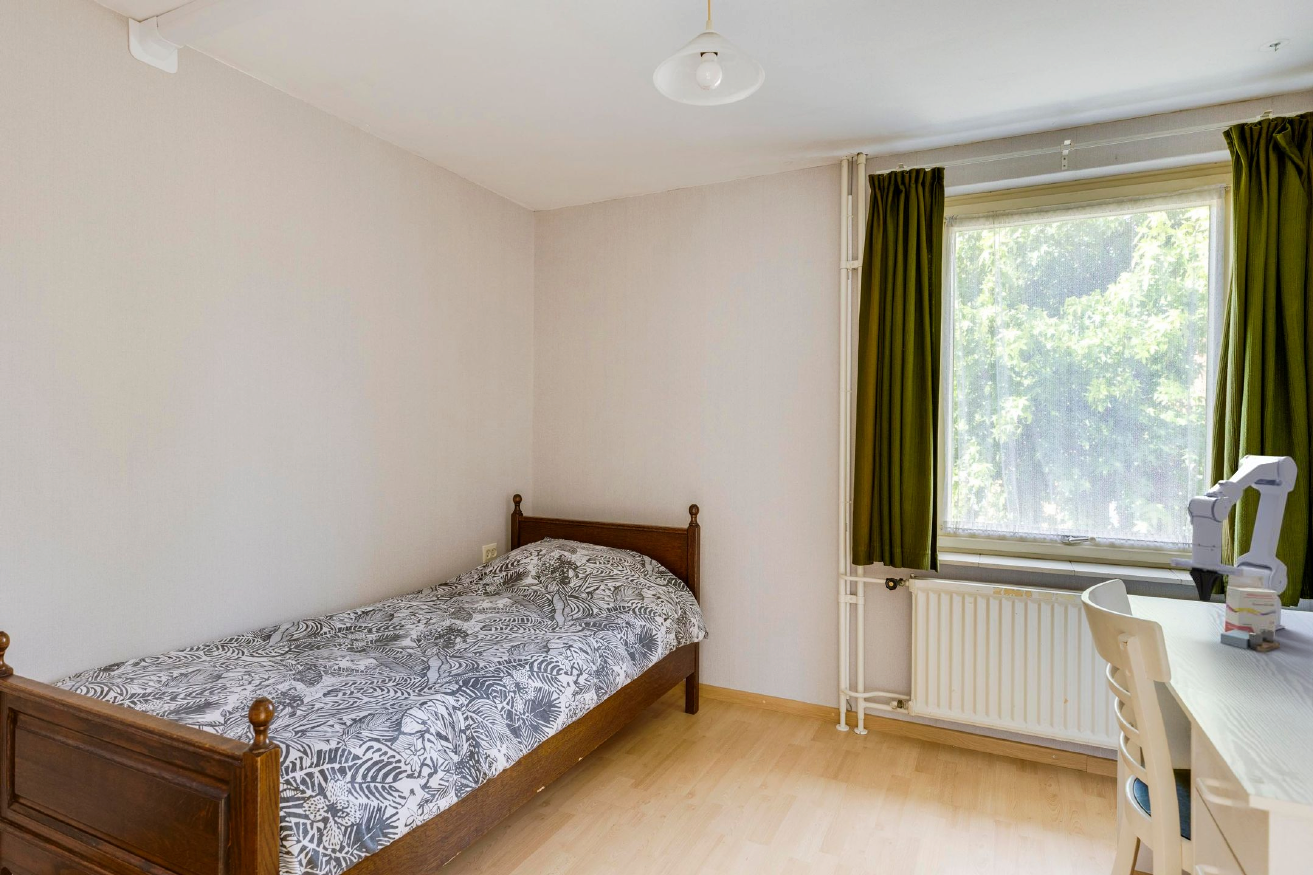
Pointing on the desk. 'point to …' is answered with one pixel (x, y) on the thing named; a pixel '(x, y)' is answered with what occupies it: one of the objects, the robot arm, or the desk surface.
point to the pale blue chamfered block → (1236, 638)
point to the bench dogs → (1262, 641)
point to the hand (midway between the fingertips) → (1204, 600)
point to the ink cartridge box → (1250, 605)
